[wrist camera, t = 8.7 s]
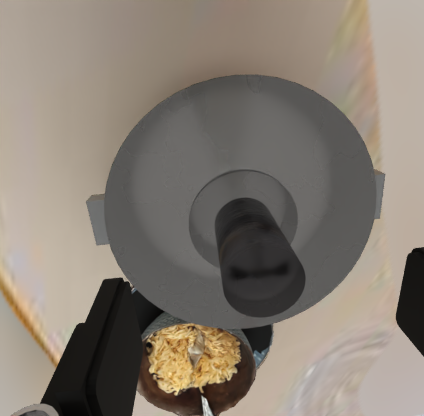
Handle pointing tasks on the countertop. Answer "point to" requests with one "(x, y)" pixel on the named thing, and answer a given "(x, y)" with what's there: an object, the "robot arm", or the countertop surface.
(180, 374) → the soup bowl
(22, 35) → the countertop surface
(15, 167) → the countertop surface
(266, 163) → the lid
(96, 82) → the countertop surface
